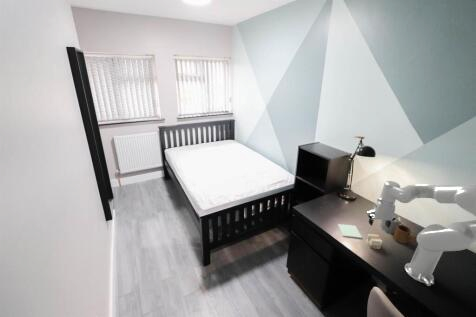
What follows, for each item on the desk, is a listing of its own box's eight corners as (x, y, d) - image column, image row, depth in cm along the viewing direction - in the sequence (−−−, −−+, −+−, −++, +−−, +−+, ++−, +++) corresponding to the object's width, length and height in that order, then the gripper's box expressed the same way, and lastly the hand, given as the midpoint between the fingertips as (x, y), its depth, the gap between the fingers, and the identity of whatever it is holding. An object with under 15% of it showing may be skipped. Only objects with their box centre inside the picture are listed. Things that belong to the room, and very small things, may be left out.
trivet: (361, 238, 145) (361, 237, 144) (342, 236, 146) (342, 235, 146) (355, 226, 156) (355, 225, 155) (337, 224, 157) (337, 223, 157)
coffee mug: (377, 228, 155) (381, 216, 151) (382, 222, 161) (385, 210, 158) (400, 238, 146) (404, 225, 142) (403, 231, 152) (408, 219, 149)
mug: (416, 247, 138) (421, 235, 135) (408, 250, 136) (413, 238, 132) (398, 234, 149) (402, 223, 145) (390, 237, 146) (394, 225, 143)
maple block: (379, 249, 136) (382, 241, 134) (369, 247, 137) (372, 240, 135) (375, 242, 142) (378, 234, 140) (365, 241, 143) (368, 233, 140)
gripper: (373, 203, 125) (366, 227, 132) (406, 206, 123) (397, 230, 129) (368, 196, 132) (361, 219, 138) (399, 199, 130) (390, 222, 136)
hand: (378, 225), depth 134 cm, fingers open, 9 cm apart
